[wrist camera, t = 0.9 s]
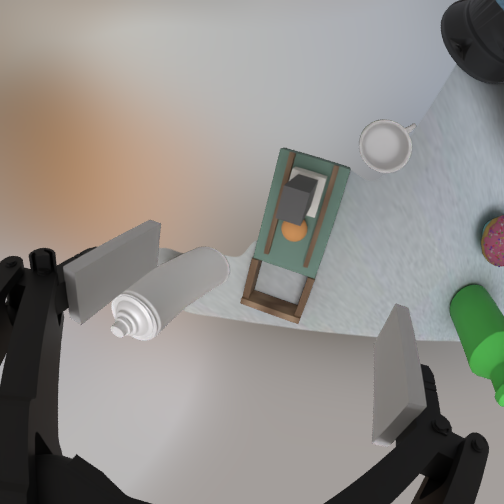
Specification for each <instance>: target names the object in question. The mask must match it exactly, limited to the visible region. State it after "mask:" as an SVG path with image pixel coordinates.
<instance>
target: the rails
mask: <svg viewBox="0 0 504 504" xmlns="http://www.w3.org/2000/svg"><path fill="white" fill-rule="evenodd" d="M295 156H296V153H295V152H290V153H289V157H288V161H287V165H286V169H285V172H284V176H283V180H282V184H281V188H280V192H279V196H278V200H277V203H276V207H275V211H274V215H273V219H272V223H271V227H270V230H269V234H268V238H267V242H266V246H265V249H264V254H267V255H268V254H269V253H270V250H271V246H272V242H273V239H274V235H275V231H276V228H277V224H278V220H279V219H277V218H276V214H277V210H278V206H279V202H280V199H281V195H282V191H283V187H284V185H285V184H286V183H287V182H289V179H290V175H291V171H292V167H293V164H294V160H295ZM339 167H340V166H338V165H334V168H333V171H332V175H331V178H330V181H329V185H328V188H327V192H326V195H325V198H324V202H323V205H322V208H321V211H320V215H319V218H318V221H317V224H316V227H315V231H314V234H313V237H312V240H311V243H310V246H309V249H308V252H307V255H306V258H305V261H304V264H303V267H305V268H308V265H309V262H310V259H311V256H312V253H313V250H314V247H315V244H316V241H317V238H318V235H319V232H320V229H321V226H322V223H323V219H324V216H325V213H326V210H327V207H328V203H329V200H330V197H331V194H332V190H333V187H334V184H335V180H336V177H337V173H338V170H339Z"/></svg>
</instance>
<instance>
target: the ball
mask: <svg viewBox="0 0 504 504" xmlns="http://www.w3.org/2000/svg"><path fill="white" fill-rule="evenodd" d="M281 230H282V234H283V236H284V237H285V238H286V239H287V240H289V241H292V242H297V241H300V240H302V239H303V238H304V237H305V236H306V234H307V224H306V222H305V220H303V222H302V224H301V226H298V225H295V224H292V223H289V222H286V221H283V223H282V227H281Z"/></svg>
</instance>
